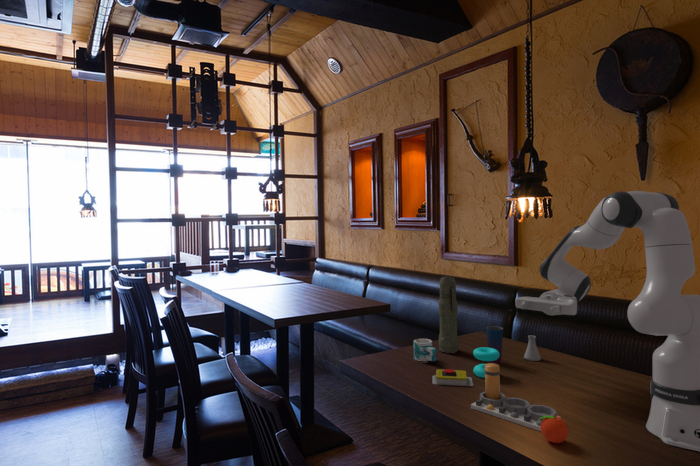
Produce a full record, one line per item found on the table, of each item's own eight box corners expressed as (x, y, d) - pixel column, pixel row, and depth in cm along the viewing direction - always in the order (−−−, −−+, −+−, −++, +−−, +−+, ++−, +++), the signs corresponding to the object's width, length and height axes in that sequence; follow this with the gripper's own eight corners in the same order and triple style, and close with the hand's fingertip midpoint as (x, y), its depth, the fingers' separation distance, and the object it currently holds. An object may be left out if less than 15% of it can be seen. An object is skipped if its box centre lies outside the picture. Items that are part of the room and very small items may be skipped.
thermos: (449, 355, 198) (448, 278, 197) (433, 349, 208) (432, 276, 208) (464, 352, 201) (463, 277, 201) (448, 346, 212) (447, 274, 211)
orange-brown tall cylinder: (503, 401, 144) (502, 365, 143) (496, 405, 140) (495, 369, 140) (489, 397, 147) (489, 362, 147) (482, 401, 144) (481, 365, 143)
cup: (505, 361, 188) (504, 327, 187) (501, 366, 182) (500, 330, 182) (489, 359, 191) (488, 325, 191) (484, 363, 186) (484, 328, 185)
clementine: (537, 445, 118) (536, 419, 118) (535, 433, 124) (535, 408, 124) (570, 450, 115) (569, 423, 115) (567, 437, 122) (566, 412, 121)
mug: (425, 355, 198) (425, 337, 198) (441, 363, 187) (441, 343, 187) (410, 358, 195) (410, 339, 195) (426, 366, 184) (425, 346, 184)
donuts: (503, 353, 167) (476, 353, 167) (503, 379, 167) (477, 379, 167) (495, 346, 177) (470, 346, 177) (495, 370, 177) (470, 370, 177)
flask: (542, 361, 187) (542, 338, 187) (525, 361, 188) (524, 338, 188) (539, 356, 194) (538, 334, 194) (521, 356, 195) (521, 333, 195)
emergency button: (432, 365, 173) (471, 367, 170) (432, 376, 173) (471, 378, 170) (432, 373, 164) (473, 375, 161) (432, 385, 164) (473, 387, 161)
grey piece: (560, 420, 132) (560, 410, 132) (545, 433, 124) (545, 422, 124) (487, 398, 149) (487, 389, 149) (470, 408, 142) (470, 398, 142)
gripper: (524, 291, 169) (507, 296, 160) (581, 297, 154) (565, 302, 145) (524, 307, 169) (507, 313, 160) (581, 315, 154) (566, 321, 145)
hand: (535, 308), depth 152 cm, fingers open, 8 cm apart
